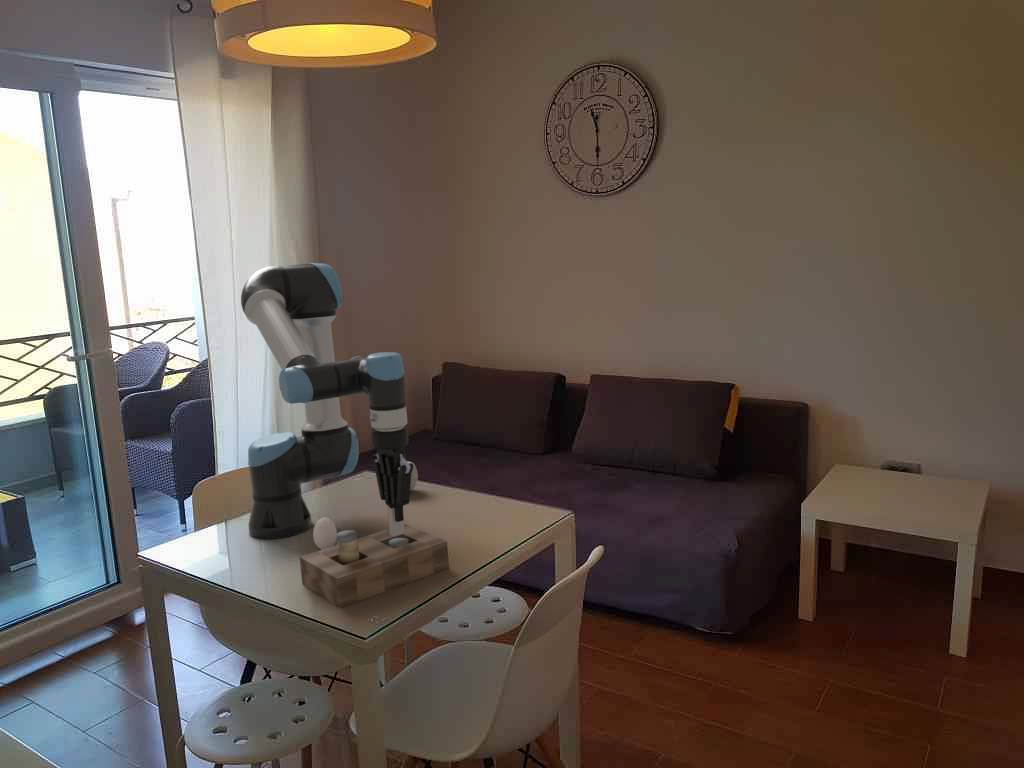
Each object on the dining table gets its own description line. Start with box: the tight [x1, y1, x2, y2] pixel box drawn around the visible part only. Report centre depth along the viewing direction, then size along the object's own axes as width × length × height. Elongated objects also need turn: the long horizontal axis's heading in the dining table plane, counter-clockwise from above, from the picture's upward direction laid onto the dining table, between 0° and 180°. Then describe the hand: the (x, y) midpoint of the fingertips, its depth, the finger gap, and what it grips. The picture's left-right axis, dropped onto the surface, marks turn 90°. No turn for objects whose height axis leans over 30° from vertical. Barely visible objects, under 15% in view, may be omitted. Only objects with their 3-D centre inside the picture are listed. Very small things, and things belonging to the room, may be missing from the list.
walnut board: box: [299, 523, 450, 609], centre depth 172 cm, size 16×26×6 cm, turn 131°
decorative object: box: [406, 460, 419, 492], centre depth 228 cm, size 9×9×10 cm
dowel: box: [336, 529, 360, 565], centre depth 167 cm, size 4×4×6 cm
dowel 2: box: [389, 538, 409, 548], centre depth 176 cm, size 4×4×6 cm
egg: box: [312, 517, 338, 550], centre depth 188 cm, size 5×5×8 cm
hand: (397, 534), depth 175 cm, fingers closed
